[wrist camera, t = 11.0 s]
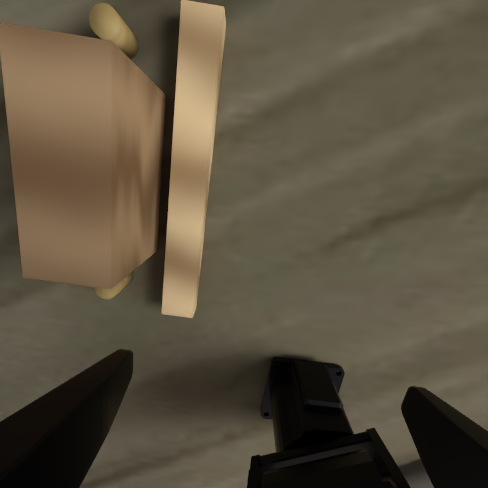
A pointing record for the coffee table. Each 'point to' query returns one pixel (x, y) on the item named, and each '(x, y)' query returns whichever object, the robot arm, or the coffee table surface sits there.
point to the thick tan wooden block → (81, 156)
